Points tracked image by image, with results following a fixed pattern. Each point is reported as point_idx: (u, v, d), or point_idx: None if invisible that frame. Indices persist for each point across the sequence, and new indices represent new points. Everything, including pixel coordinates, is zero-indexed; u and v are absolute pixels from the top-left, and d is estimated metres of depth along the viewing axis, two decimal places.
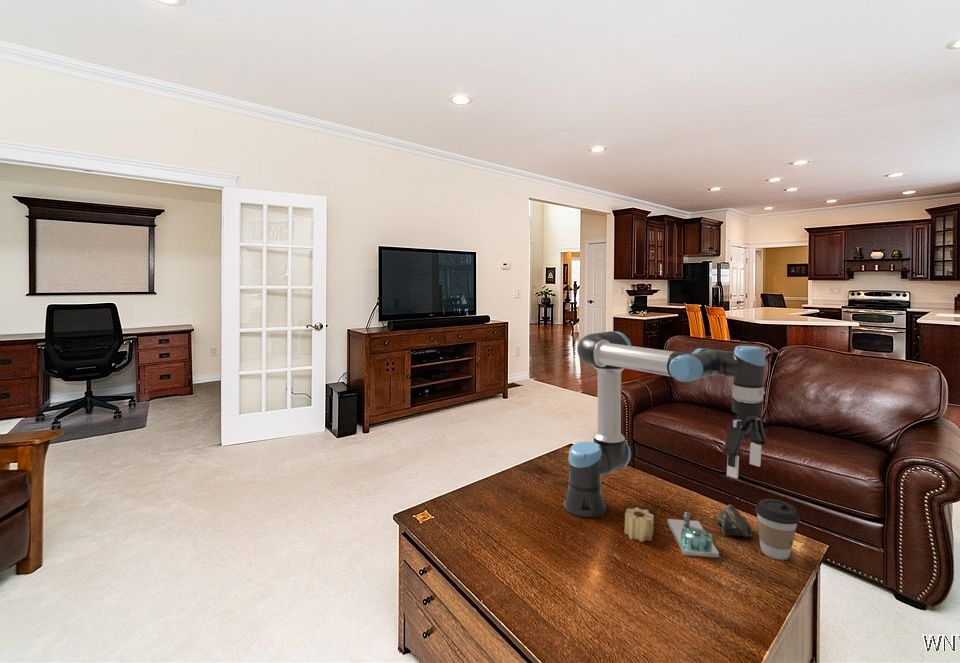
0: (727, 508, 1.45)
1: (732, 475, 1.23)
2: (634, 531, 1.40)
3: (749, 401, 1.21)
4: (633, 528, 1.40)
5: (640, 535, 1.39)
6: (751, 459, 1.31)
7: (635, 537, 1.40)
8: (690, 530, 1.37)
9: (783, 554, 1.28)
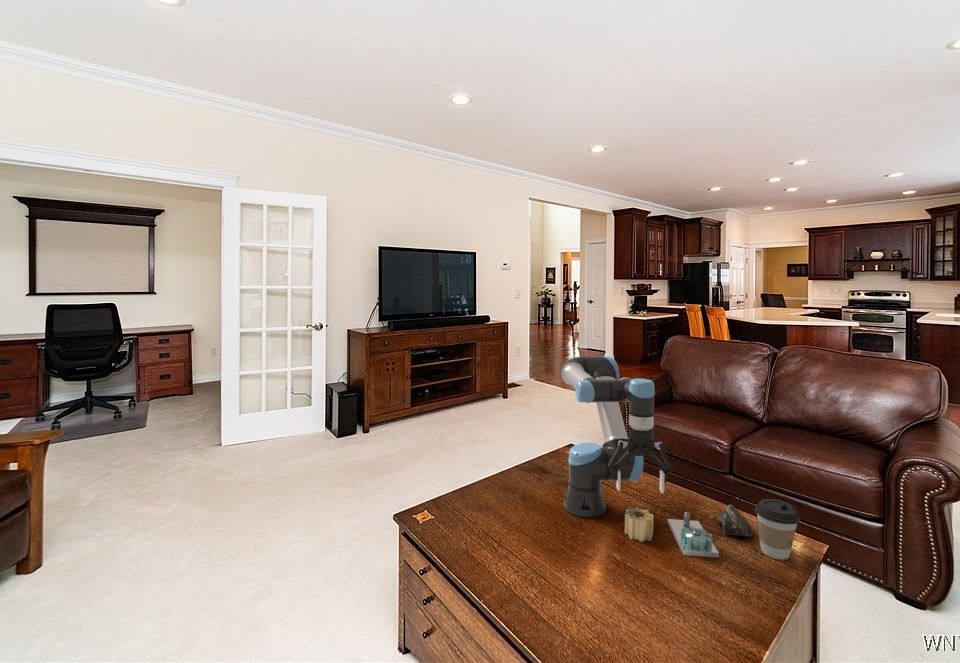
0: (728, 508, 1.45)
1: (617, 487, 1.42)
2: (634, 531, 1.40)
3: (632, 427, 1.38)
4: (633, 528, 1.40)
5: (640, 535, 1.39)
6: None
7: (635, 537, 1.40)
8: (690, 530, 1.37)
9: (783, 554, 1.28)
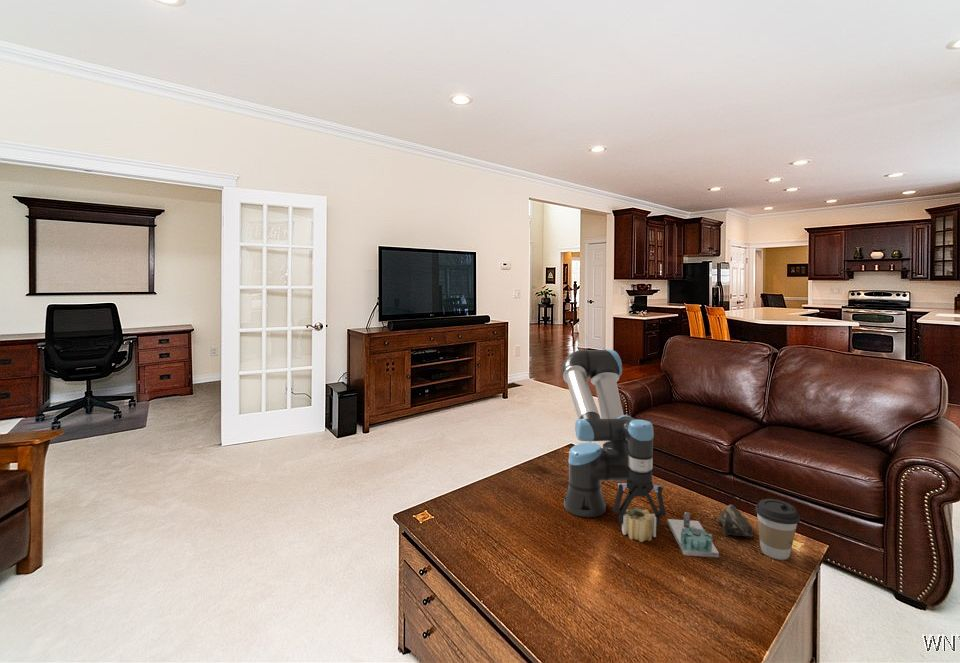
0: (728, 508, 1.45)
1: (622, 531, 1.44)
2: (634, 531, 1.40)
3: (631, 468, 1.40)
4: (633, 528, 1.40)
5: (640, 535, 1.39)
6: None
7: (635, 537, 1.40)
8: (690, 530, 1.37)
9: (783, 554, 1.28)
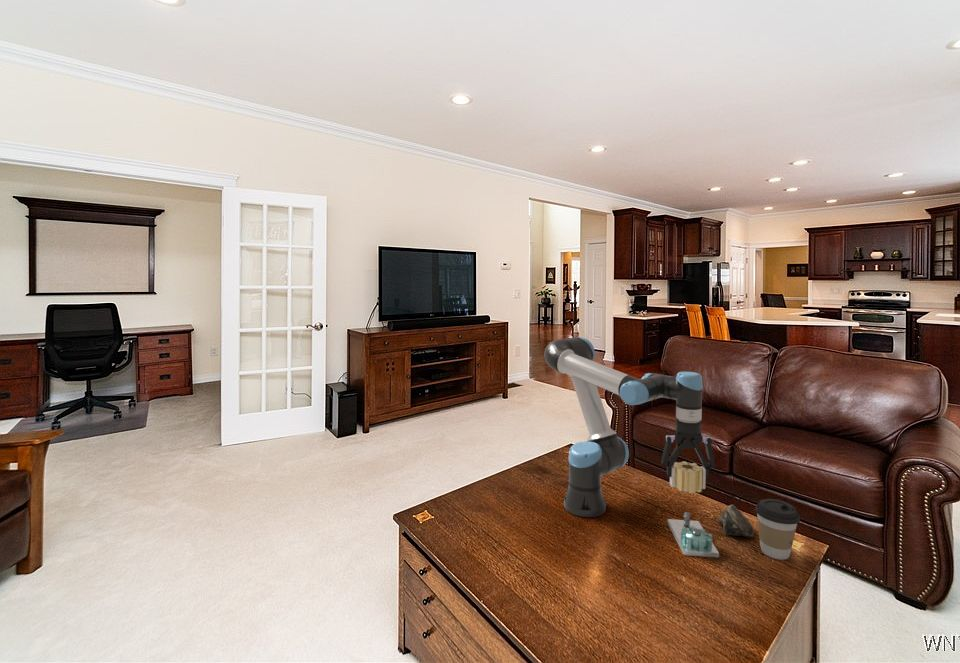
0: (729, 508, 1.45)
1: (670, 484, 1.44)
2: (683, 483, 1.40)
3: (680, 420, 1.39)
4: (682, 480, 1.40)
5: (690, 486, 1.38)
6: None
7: (684, 489, 1.40)
8: (690, 530, 1.37)
9: (783, 554, 1.28)
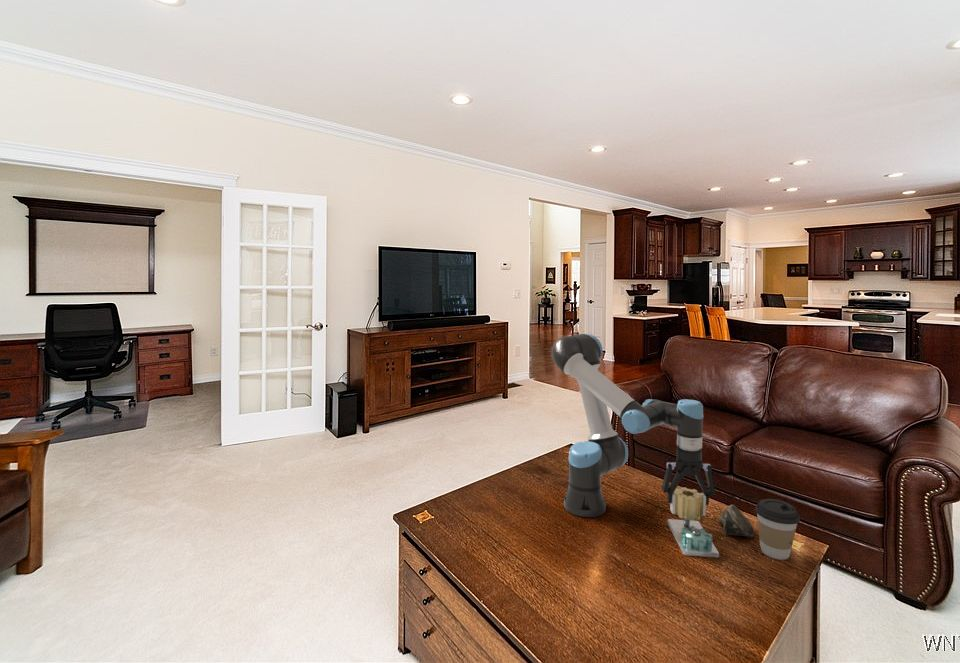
0: (729, 508, 1.45)
1: (671, 510, 1.45)
2: (684, 510, 1.41)
3: (681, 447, 1.41)
4: (683, 507, 1.41)
5: (690, 514, 1.40)
6: None
7: (685, 516, 1.41)
8: (690, 530, 1.37)
9: (783, 554, 1.28)
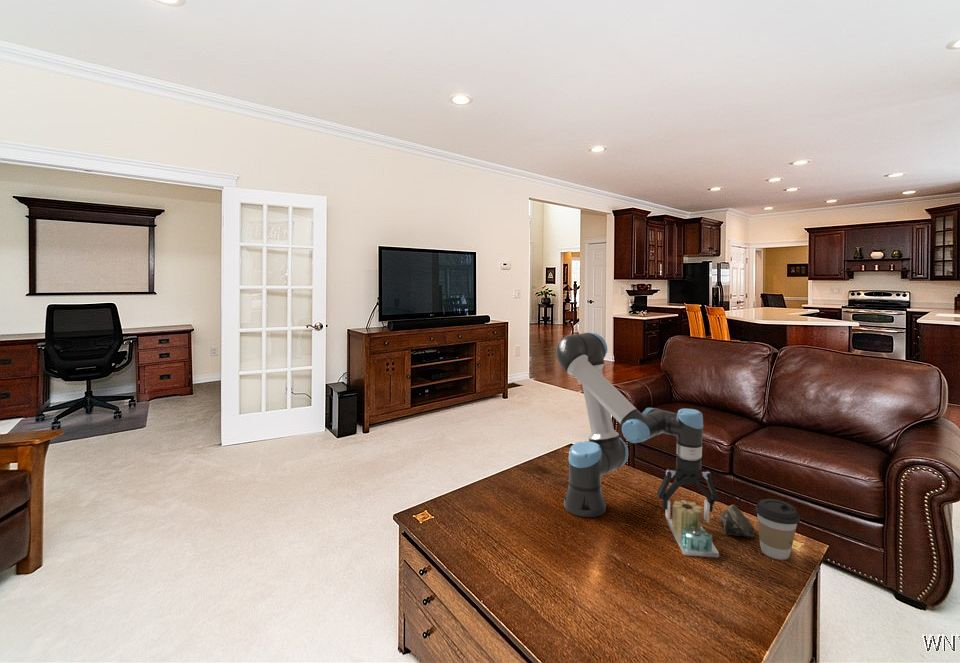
0: (729, 508, 1.45)
1: (666, 516, 1.45)
2: (683, 523, 1.42)
3: (681, 457, 1.41)
4: (682, 520, 1.42)
5: (689, 527, 1.40)
6: (704, 514, 1.45)
7: None
8: (690, 530, 1.37)
9: (783, 554, 1.28)
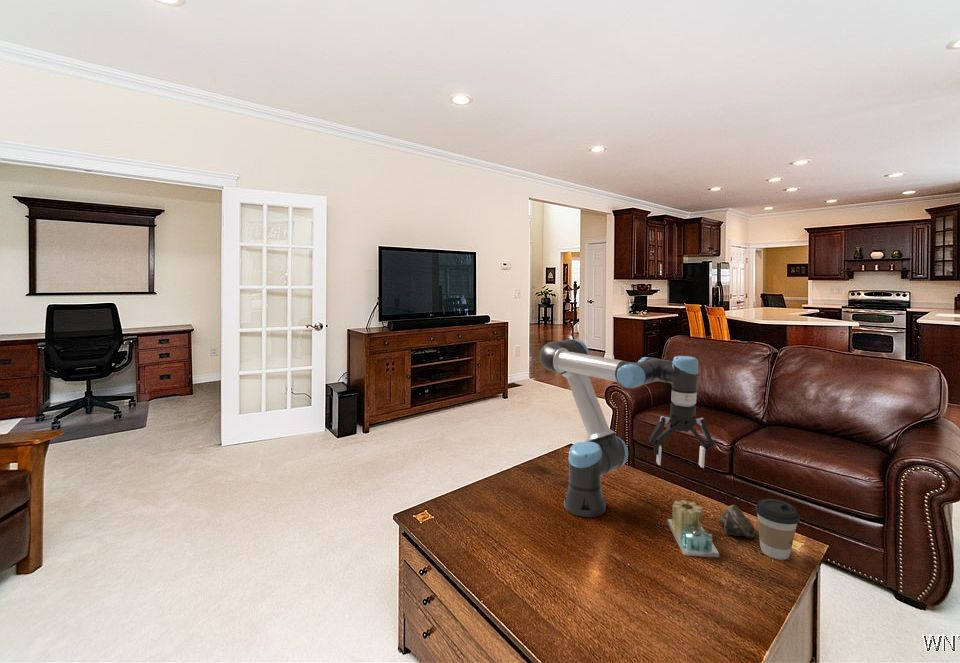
0: (730, 508, 1.45)
1: (657, 462, 1.46)
2: (683, 523, 1.42)
3: (675, 403, 1.41)
4: (682, 520, 1.42)
5: (689, 527, 1.40)
6: (699, 460, 1.45)
7: None
8: (690, 530, 1.37)
9: (783, 554, 1.28)
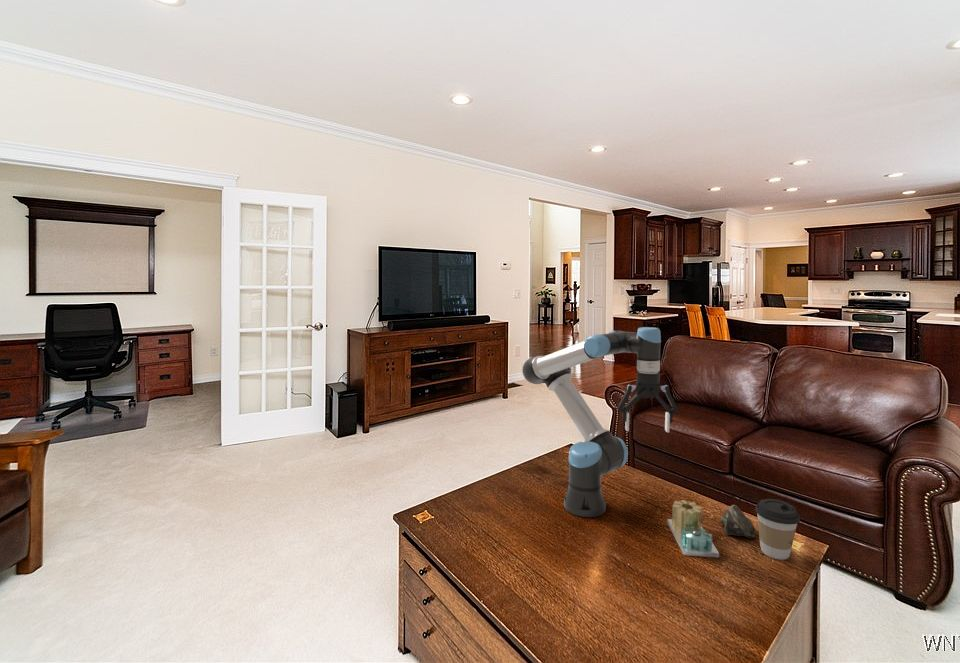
0: (730, 508, 1.44)
1: (625, 428, 1.54)
2: (683, 523, 1.42)
3: (640, 371, 1.50)
4: (682, 520, 1.42)
5: (689, 527, 1.40)
6: (665, 426, 1.53)
7: None
8: (690, 530, 1.37)
9: (783, 554, 1.28)
